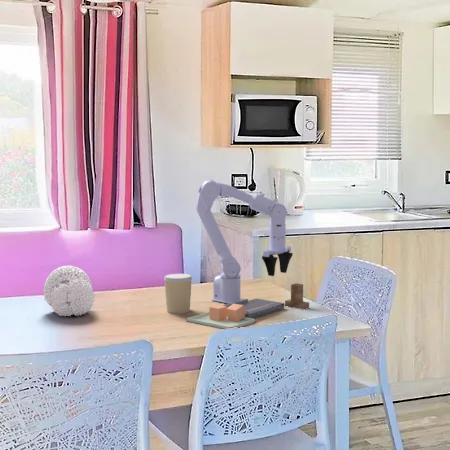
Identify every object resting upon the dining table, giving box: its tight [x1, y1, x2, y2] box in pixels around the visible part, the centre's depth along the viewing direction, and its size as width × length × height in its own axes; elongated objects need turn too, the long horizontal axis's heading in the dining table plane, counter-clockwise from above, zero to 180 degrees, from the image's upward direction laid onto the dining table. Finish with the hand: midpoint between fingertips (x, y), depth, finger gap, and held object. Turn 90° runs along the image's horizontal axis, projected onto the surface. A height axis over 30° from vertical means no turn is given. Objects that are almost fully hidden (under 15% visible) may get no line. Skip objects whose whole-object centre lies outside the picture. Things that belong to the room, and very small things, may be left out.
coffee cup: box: [163, 273, 193, 314], centre depth 254 cm, size 9×9×12 cm
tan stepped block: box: [284, 282, 310, 310], centre depth 258 cm, size 8×3×8 cm, turn 51°
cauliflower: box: [42, 265, 95, 317], centre depth 251 cm, size 20×18×16 cm
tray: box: [186, 311, 256, 330], centre depth 239 cm, size 18×13×1 cm
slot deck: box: [221, 298, 285, 320], centre depth 252 cm, size 12×20×3 cm, turn 141°
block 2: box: [226, 304, 245, 322], centre depth 240 cm, size 4×4×4 cm
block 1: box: [208, 304, 227, 321], centre depth 242 cm, size 4×4×4 cm
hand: (277, 274), depth 269 cm, fingers open, 7 cm apart
